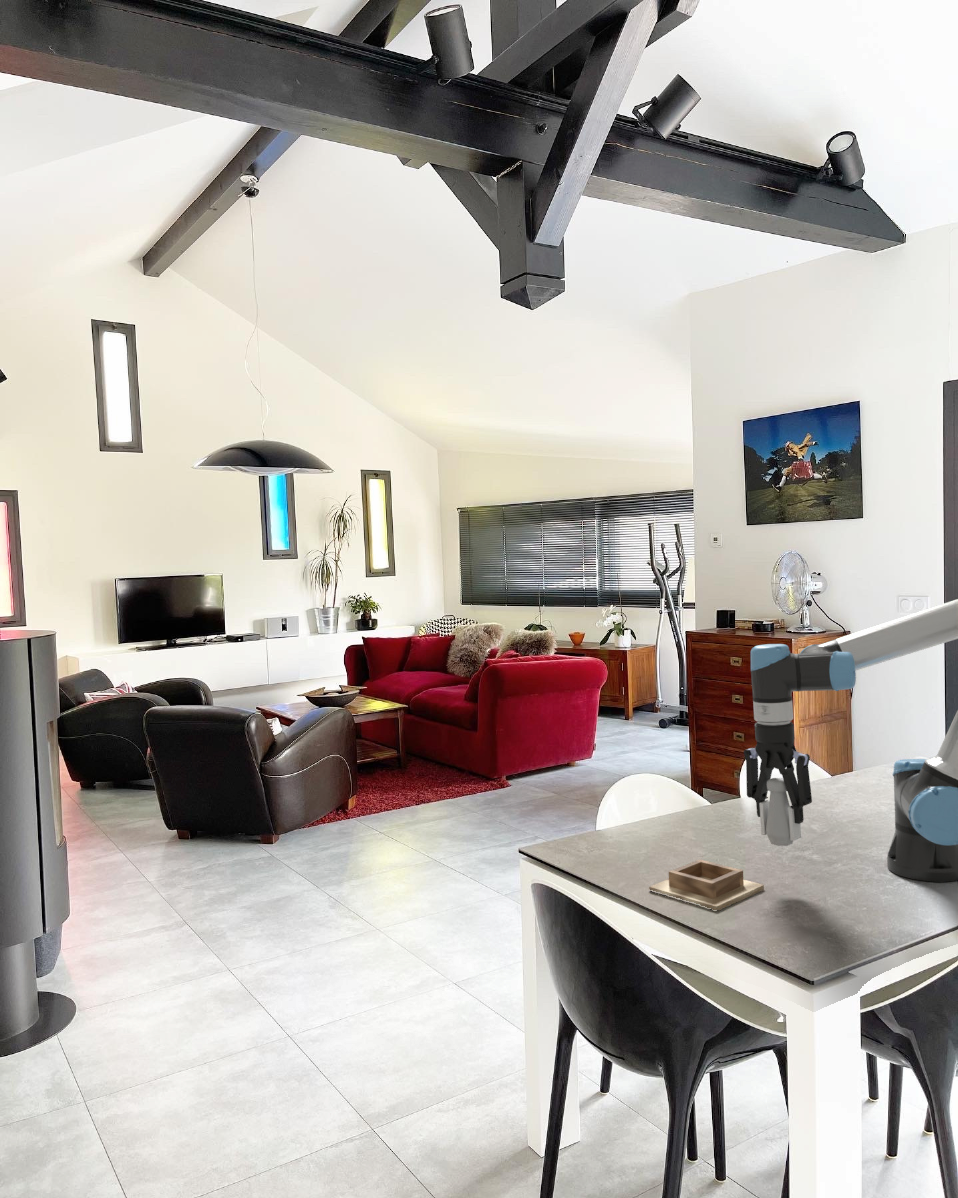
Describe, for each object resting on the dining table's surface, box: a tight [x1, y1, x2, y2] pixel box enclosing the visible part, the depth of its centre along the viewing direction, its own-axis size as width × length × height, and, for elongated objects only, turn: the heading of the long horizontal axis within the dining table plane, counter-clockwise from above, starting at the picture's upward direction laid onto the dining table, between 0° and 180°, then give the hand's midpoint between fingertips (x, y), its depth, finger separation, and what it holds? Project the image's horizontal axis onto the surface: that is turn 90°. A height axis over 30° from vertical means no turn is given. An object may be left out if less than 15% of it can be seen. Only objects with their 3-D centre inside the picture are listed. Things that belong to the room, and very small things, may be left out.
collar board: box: [648, 859, 765, 911], centre depth 186 cm, size 16×16×4 cm
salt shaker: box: [766, 777, 794, 847], centre depth 186 cm, size 6×6×13 cm
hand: (781, 835), depth 187 cm, fingers closed on salt shaker, 6 cm apart
